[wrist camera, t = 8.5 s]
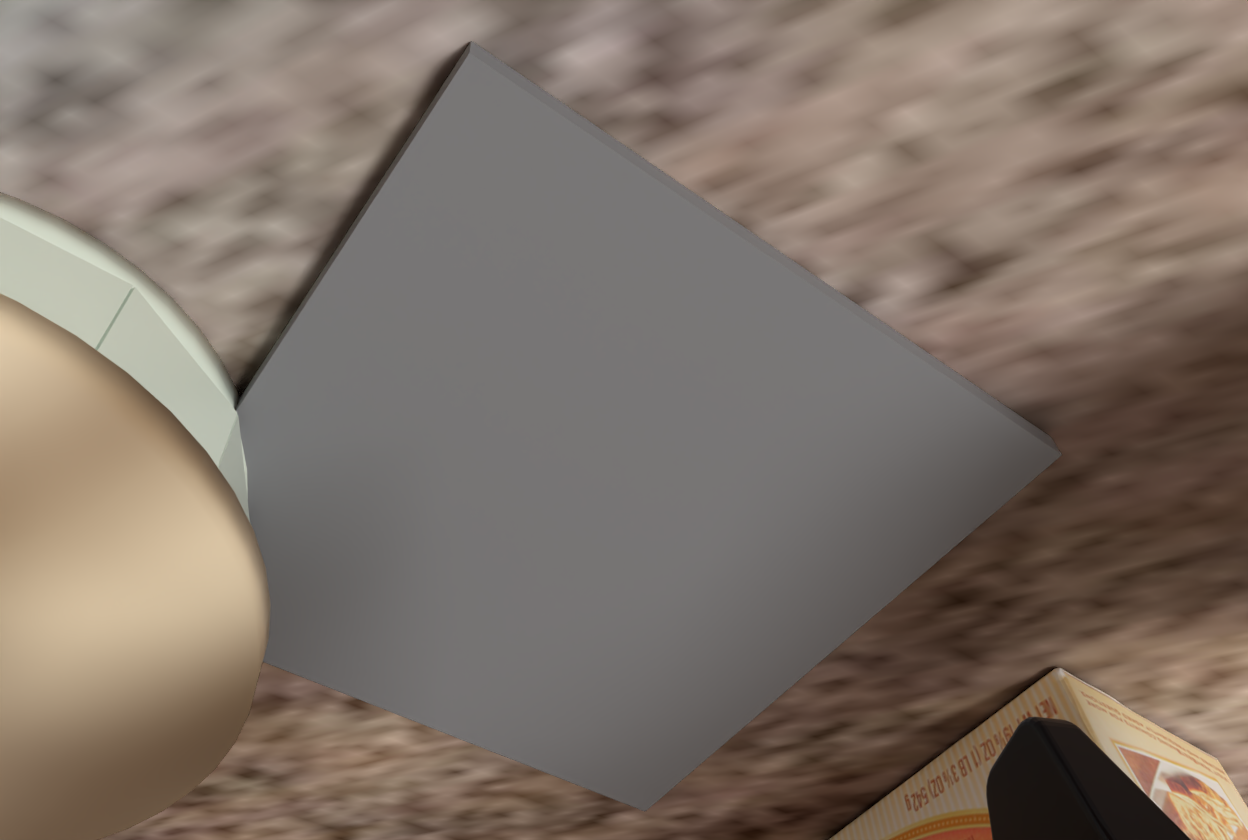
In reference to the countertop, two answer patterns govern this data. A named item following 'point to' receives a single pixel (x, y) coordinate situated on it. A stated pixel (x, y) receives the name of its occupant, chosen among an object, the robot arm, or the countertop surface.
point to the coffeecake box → (1150, 756)
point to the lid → (112, 594)
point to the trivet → (591, 453)
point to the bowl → (123, 325)
